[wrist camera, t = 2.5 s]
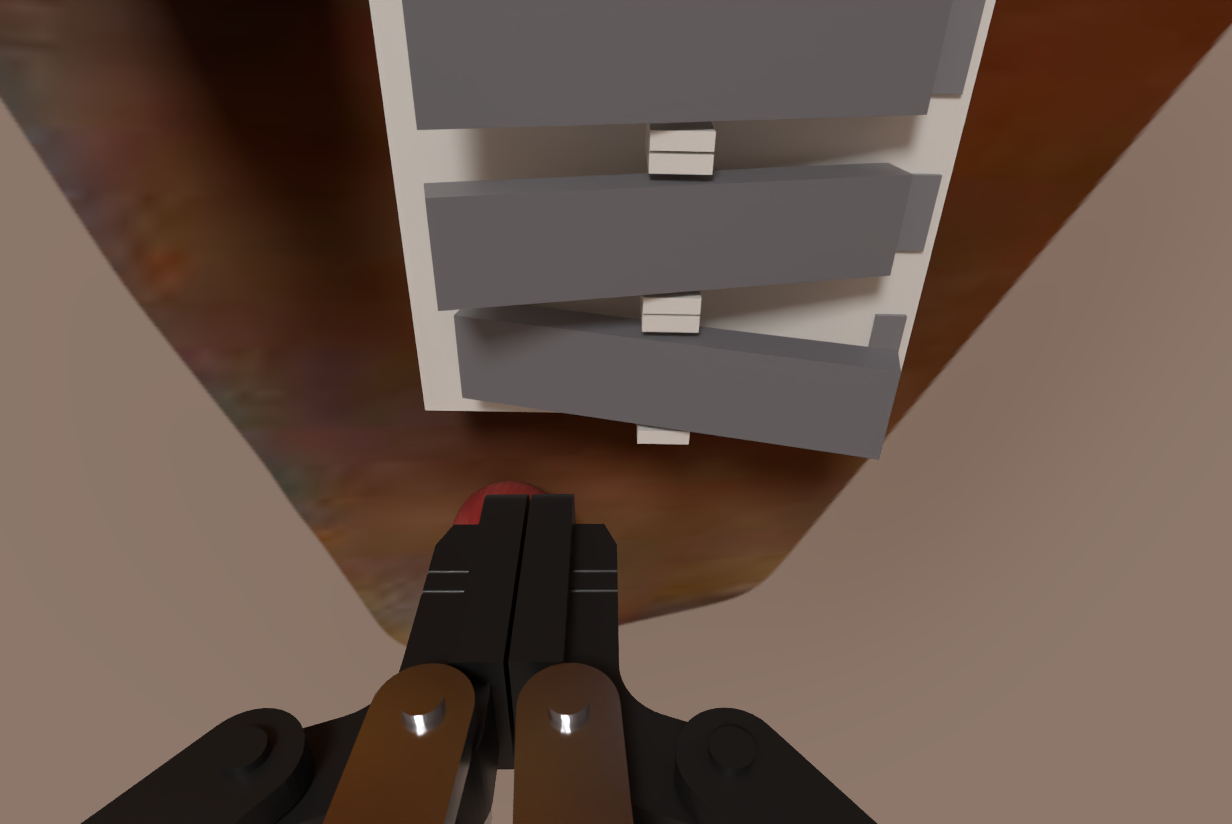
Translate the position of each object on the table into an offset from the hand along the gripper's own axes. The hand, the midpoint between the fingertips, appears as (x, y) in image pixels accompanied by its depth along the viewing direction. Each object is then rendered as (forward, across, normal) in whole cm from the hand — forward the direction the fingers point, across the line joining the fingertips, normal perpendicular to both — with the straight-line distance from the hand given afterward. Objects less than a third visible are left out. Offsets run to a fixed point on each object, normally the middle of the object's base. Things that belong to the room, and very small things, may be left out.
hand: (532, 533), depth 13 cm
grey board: (+15, -4, +5) cm, 16 cm away
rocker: (+15, -4, 0) cm, 15 cm away
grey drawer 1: (+14, -4, -6) cm, 16 cm away
